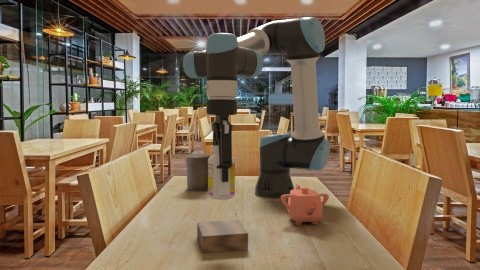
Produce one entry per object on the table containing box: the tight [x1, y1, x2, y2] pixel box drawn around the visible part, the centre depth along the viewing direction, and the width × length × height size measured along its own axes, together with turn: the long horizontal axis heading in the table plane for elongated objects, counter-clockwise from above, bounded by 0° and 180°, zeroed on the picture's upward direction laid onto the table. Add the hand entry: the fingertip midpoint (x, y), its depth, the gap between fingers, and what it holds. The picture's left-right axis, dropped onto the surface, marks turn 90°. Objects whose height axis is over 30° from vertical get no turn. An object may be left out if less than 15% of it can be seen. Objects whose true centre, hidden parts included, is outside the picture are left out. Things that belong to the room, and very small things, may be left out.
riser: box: [196, 219, 249, 254], centre depth 100 cm, size 11×11×4 cm
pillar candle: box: [186, 152, 211, 192], centre depth 161 cm, size 10×10×15 cm
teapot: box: [280, 183, 330, 226], centre depth 118 cm, size 14×12×10 cm
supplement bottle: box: [207, 145, 236, 201], centre depth 98 cm, size 7×7×13 cm
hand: (221, 191), depth 99 cm, fingers closed on supplement bottle, 7 cm apart
